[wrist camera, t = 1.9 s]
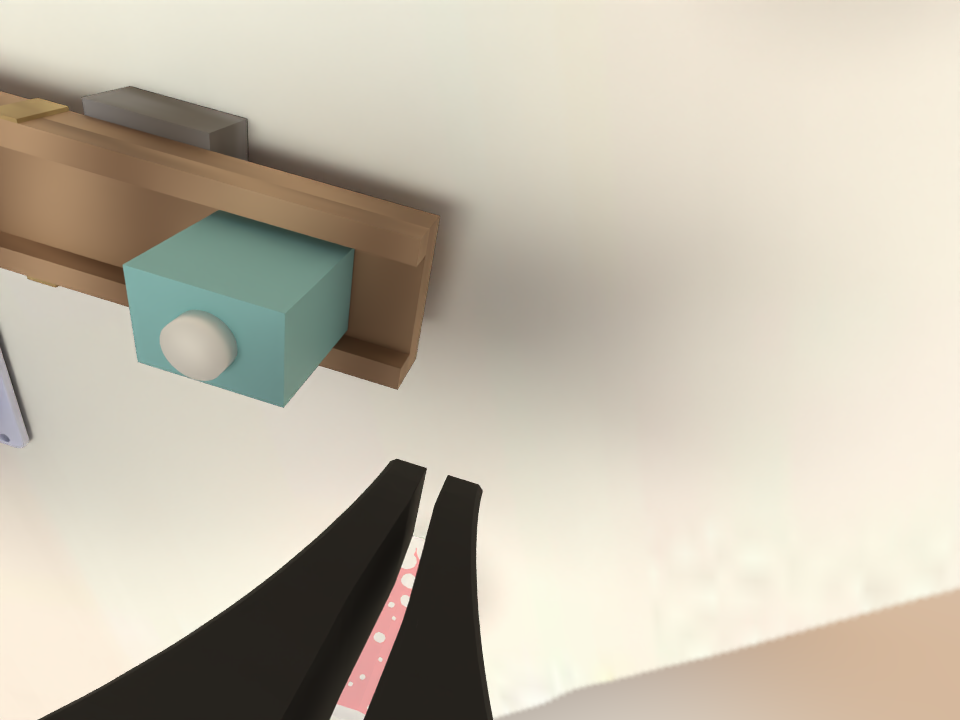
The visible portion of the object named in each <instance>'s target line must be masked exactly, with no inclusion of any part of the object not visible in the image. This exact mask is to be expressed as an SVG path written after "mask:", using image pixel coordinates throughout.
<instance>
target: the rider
mask: <svg viewBox="0 0 960 720" xmlns="http://www.w3.org/2000/svg"><path fill="white" fill-rule="evenodd" d="M354 250H355V249H353V248H349V247H346V246H342V245H339V244H336V243H332V242H329V241H325V240H322V239H318V238H315V237H311V236H308V235H305V234H301V233H298V232H294V231H291V230H287V229H284V228H281V227H277V226H274V225H270V224H267V223H263V222H260V221H256V220H253V219H250V218H246V217H243V216H239V215H236V214H232V213H229V212H226V211H222V210H218V211H216V212H214V213H213V214H211V215H209V216H207V217H206V218H204V219H202V220H200V221H199V222H197V223H195V224H193V225H191V226H190V227H188V228H186V229H184V230H183V231H181V232H179V233H177V234H176V235H174V236H172V237H170V238H169V239H167V240H165V241H163V242H162V243H160V244H158V245H156V246H154V247H153V248H151V249H149V250H147V251H146V252H144V253H142V254H140V255H139V256H137V257H135V258H133V259H132V260H130V261H128V262H126V263H125V264H123V271H124V277H125V283H126V290H127V296H128V302H129V309H130V315H131V321H132V328H133V334H134V340H135V347H136V353H137V359H138V362H140V363H143V364H146V365H149V366H153V367H156V368H159V369H162V370H165V371H169V372H172V373H175V374H178V375H181V376H184V377H188V378H191V379H194V380H197V381H200V382H203V383H207V384H210V385H213V386H216V387H219V388H223V389H226V390H229V391H232V392H235V393H238V394H242V395H245V396H248V397H251V398H254V399H258V400H261V401H264V402H267V403H270V404H273V405H277V406H280V407H283V408H284V407H285V405H286V404H287V403H288V402H289V401H290V399H291V398H292V397H293V396H294V394H295V393H296V392H297V391H298V390H299V388H300V387H301V386H302V385H303V383H304V382H305V381H306V380H307V379H308V377H309V376H310V375H311V374H312V373H313V371H314V370H315V369H316V368H317V366H318V365H319V364H320V363H321V362H322V360H323V359H324V358H325V357H326V355H327V354H328V353H329V352H330V351H331V349H332V348H333V347H334V346H335V344H336V343H337V342H338V341H339V340H340V338H341V337H342V336H343V335H344V334H345V332H346V331H347V330H348V319H349V308H350V296H351V285H352V273H353V261H354Z"/></svg>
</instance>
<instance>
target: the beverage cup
mask: <svg viewBox="0 0 960 720" xmlns="http://www.w3.org/2000/svg"><path fill="white" fill-rule="evenodd" d="M424 543H425V539H422V538H419V537H415V536H413V537H412V539H411V542H410V545H409V548H408V550H407V553H406V556H405V558H404V561H403V564H402V566H401V569H400V572H399V574H398V577H397V580H396V582H395V585H394V587H393V589H392V591H391V593H390V596H389V598H388V600H387V602H386V604H385V606H384V608H383V610H382V612H381V614H380V616H379V618H378V620H377V622H376V624H375V626H374V628H373V630H372V632H371V634H370V636H369V638H368V640H367V642H366V645H365V647H364V649H363V651H362V653H361V655H360V657H359V659H358V661H357V663H356V665H355V667H354V669H353V671H352V673H351V675H350V677H349V679H348V681H347V683H346V685H345V687H344V689H343V691H342V693H341V695H340V698H339V700H338V702H337V704H336V707H335V709H334V711H333V713H332V716H331V718H330V720H364V717H365V715H366V712H367V710H368V707H369V705H370V702H371V700H372V697H373V695H374V692H375V690H376V687H377V685H378V682H379V680H380V677H381V675H382V672H383V670H384V667H385V664H386V662H387V659H388V657H389V654H390V652H391V649H392V647H393V644H394V642H395V639H396V636H397V634H398V631H399V629H400V626H401V624H402V621H403V617H404V614H405V611H406V608H407V605H408V602H409V598H410V595H411V591H412V587H413V584H414V580H415V576H416V572H417V569H418V565H419V561H420V558H421V554H422V550H423V546H424Z"/></svg>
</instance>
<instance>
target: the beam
mask: <svg viewBox="0 0 960 720" xmlns="http://www.w3.org/2000/svg"><path fill="white" fill-rule="evenodd" d="M82 103H83V108H84V114H85V115H83V114H79V113H76V112H72V111H69V107H68V106H65V105H61V104H58V103H54V102H51V101H47V100H44V99H40V98H34V99H26V98H23V97H19V96H16V95H12V94H9V93H5V92H1V91H0V268H4V269H7V270H10V271H13V272H17V273H20V274H23V275H26V276H27V278H28V279H29V280H33V281H36V282H39V283H42V284H46V285H49V286H52V287H55V288H56V287H58V286H62V287H65V288H69V289H72V290H75V291H78V292H82V293H85V294H88V295H91V296H95V297H98V298H101V299H104V300H108V301H111V302H114V303H117V304H121V305H124V306H127V307H129V302H128V296H127V290H126V283H125V277H124V271H123V264H125V263H126V262H128V261H130V260H132V259H133V258H135V257H137V256H139V255H140V254H142V253H144V252H146V251H147V250H149V249H151V248H153V247H154V246H156V245H158V244H160V243H162V242H163V241H165V240H167V239H169V238H170V237H172V236H174V235H176V234H177V233H179V232H181V231H183V230H184V229H186V228H188V227H190V226H191V225H193V224H195V223H197V222H199V221H200V220H202V219H204V218H206V217H207V216H209V215H211V214H213V213H214V212H216V211H218V210H222V211H226V212H229V213H232V214H236V215H239V216H243V217H246V218H250V219H253V220H256V221H260V222H263V223H267V224H270V225H274V226H277V227H281V228H284V229H287V230H291V231H294V232H298V233H301V234H305V235H308V236H311V237H315V238H318V239H322V240H325V241H329V242H332V243H336V244H339V245H342V246H346V247H349V248H353V249H355V250H354V261H353V273H352V285H351V296H350V308H349V319H348V330H347V331H346V332H345V334H344V335H343V336H342V337H341V338H340V340H339V341H338V342H337V343H336V344H335V346H334V347H333V348H332V349H331V351H330V352H329V353H328V354H327V355H326V357H325V358H324V359H323V360H322V362H321V363H320V364H319V366H322V367H325V368H329V369H332V370H335V371H338V372H342V373H345V374H348V375H351V376H355V377H358V378H361V379H364V380H368V381H371V382H374V383H378V384H381V385H384V386H387V387H391V388H394V389H397V390H398V388H399V387H400V385H401V383H402V381H403V380H404V378H405V376H406V375H407V373H408V371H409V369H410V368H411V366H412V364H413V363H414V361H415V359H416V355H417V349H418V343H419V338H420V332H421V326H422V320H423V314H424V308H425V302H426V296H427V290H428V285H429V279H430V273H431V267H432V261H433V255H434V249H435V243H436V237H437V232H438V226H439V220H440V216H439V215H435V214H432V213H428V212H424V211H421V210H417V209H414V208H410V207H407V206H403V205H400V204H396V203H393V202H389V201H386V200H382V199H379V198H375V197H372V196H368V195H365V194H361V193H358V192H354V191H350V190H347V189H343V188H340V187H336V186H333V185H329V184H326V183H322V182H319V181H315V180H312V179H308V178H305V177H301V176H298V175H294V174H291V173H287V172H283V171H280V170H276V169H273V168H269V167H266V166H262V165H259V164H255V163H252V162H248V146H247V119H245V118H242V117H238V116H235V115H231V114H227V113H224V112H220V111H217V110H213V109H209V108H206V107H202V106H199V105H195V104H192V103H188V102H184V101H181V100H177V99H174V98H170V97H166V96H163V95H159V94H156V93H152V92H148V91H145V90H141V89H138V88H134V87H130V86H129V87H125V88H120V89H116V90H111V91H107V92H103V93H98V94H94V95H90V96H85V97H82Z"/></svg>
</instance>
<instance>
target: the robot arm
mask: <svg viewBox="0 0 960 720" xmlns="http://www.w3.org/2000/svg"><path fill="white" fill-rule="evenodd" d="M0 442H1V443H4V444H7V445H10V446H13V447H16V448H23V447H24V446H26V445H27V444H28V443H29V437H28V434H27V431H26V428H25V425H24V421H23V418H22V415H21V412H20V409H19V406H18V402H17V399H16V396H15V393H14V390H13V386H12V383H11V380H10V377H9V374H8V371H7V367H6V364H5V361H4V358H3V355H2V352H1V348H0ZM426 470H427V468H424V467H421V466H418V465H415V464H412V463H409V462H405V461H402V460H399V459H395V460H392V461H390V462H389V464H388V465H387V466H386V467H385V469H384V470H383V471H382V472H381V474H380V475H379V476H378V477H377V478H376V479H375V480H374V482H373V483H372V484H371V485H370V486H369V487H368V488H367V489H366V490H365V491H364V492H363V493H362V494H361V495H360V497H359V498H358V499H357V500H356V501H355V502H354V503H353V504H352V505H351V506H350V507H349V508H348V509H347V510H346V511H345V512H344V513H342V514H341V515H340V516H339V517H338V518H337V519H336V520H335V521H334V522H333V523H332V524H331V525H330V526H329V527H328V528H327V529H326V530H325V531H323V532H322V533H321V534H320V535H319V536H318V537H317V538H316V539H315V540H314V541H312V542H311V543H310V544H309V545H308V546H306V547H305V548H304V549H303V550H302V551H301V552H299V553H298V554H297V555H296V556H295V557H293V558H292V559H291V560H290V561H289V562H288V563H286V564H285V565H284V566H283V567H282V568H280V569H279V570H278V571H277V572H275V573H274V574H273V575H272V576H270V577H269V578H268V579H267V580H265V581H264V582H263V583H261V584H260V585H259V586H257V587H256V588H255V589H253V590H252V591H251V592H249V593H248V594H247V595H245V596H244V597H243V598H241V599H240V600H238V601H237V602H236V603H234V604H233V605H232V606H230V607H229V608H227V609H226V610H224V611H223V612H221V613H220V614H219V615H217V616H216V617H214V618H213V619H211V620H210V621H208V622H207V623H205V624H204V625H202V626H201V627H199V628H198V629H196V630H195V631H193V632H192V633H190V634H189V635H187V636H186V637H184V638H183V639H181V640H179V641H178V642H176V643H175V644H173V645H171V646H170V647H168V648H167V649H165V650H163V651H162V652H160V653H158V654H157V655H155V656H153V657H151V658H150V659H148V660H146V661H145V662H143V663H141V664H139V665H138V666H136V667H134V668H133V669H131V670H129V671H127V672H126V673H124V674H122V675H121V676H119V677H117V678H115V679H114V680H112V681H110V682H109V683H107V684H105V685H103V686H102V687H100V688H98V689H96V690H94V691H92V692H91V693H89V694H87V695H85V696H83V697H81V698H79V699H77V700H75V701H73V702H71V703H70V704H68V705H66V706H64V707H62V708H60V709H58V710H56V711H54V712H52V713H50V714H48V715H46V716H44V717H42V718H40V719H38V720H330V718H331V716H332V713H333V711H334V709H335V707H336V704H337V702H338V700H339V698H340V695H341V693H342V691H343V689H344V687H345V685H346V683H347V681H348V679H349V677H350V675H351V673H352V671H353V669H354V667H355V665H356V663H357V661H358V659H359V657H360V655H361V653H362V651H363V649H364V647H365V645H366V642H367V640H368V638H369V636H370V634H371V632H372V630H373V628H374V626H375V624H376V622H377V620H378V618H379V616H380V614H381V612H382V610H383V608H384V606H385V604H386V602H387V600H388V598H389V596H390V593H391V591H392V589H393V587H394V585H395V582H396V580H397V577H398V574H399V572H400V569H401V566H402V564H403V561H404V558H405V556H406V553H407V550H408V548H409V545H410V542H411V539H412V537H413V532H414V527H415V522H416V518H417V513H418V508H419V503H420V499H421V494H422V489H423V484H424V480H425V475H426ZM482 492H483V490H482V489H481V487H480V486H479V485H478V484H475V483H472V482H469V481H465V480H462V479H459V478H456V477H453V476H450V475H448V476H447V478H446V480H445V482H444V485H443V487H442V489H441V491H440V494H439V496H438V498H437V501H436V503H435V506H434V509H433V513H432V517H431V520H430V524H429V528H428V532H427V535H426V539H425V543H424V546H423V550H422V554H421V558H420V561H419V565H418V569H417V572H416V576H415V580H414V584H413V587H412V591H411V595H410V598H409V602H408V605H407V608H406V611H405V614H404V617H403V621H402V624H401V626H400V629H399V631H398V634H397V636H396V639H395V642H394V644H393V647H392V649H391V652H390V654H389V657H388V659H387V662H386V664H385V667H384V670H383V672H382V675H381V677H380V680H379V682H378V685H377V687H376V690H375V692H374V695H373V697H372V700H371V702H370V705H369V707H368V710H367V712H366V715H365V717H364V720H493V717H492V711H491V706H490V700H489V694H488V688H487V681H486V675H485V668H484V661H483V653H482V644H481V635H480V624H479V614H478V599H477V574H476V540H477V522H478V513H479V506H480V500H481V496H482Z"/></svg>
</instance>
